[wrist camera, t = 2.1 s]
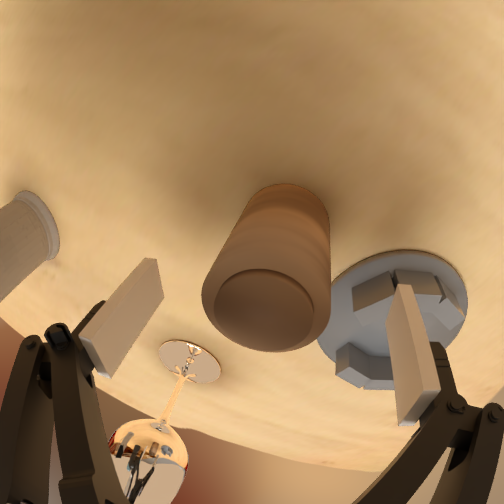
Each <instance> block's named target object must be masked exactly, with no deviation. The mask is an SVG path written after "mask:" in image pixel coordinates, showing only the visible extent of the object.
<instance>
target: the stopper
mask: <svg viewBox="0 0 504 504" xmlns="http://www.w3.org/2000/svg"><path fill="white" fill-rule="evenodd" d="M201 296H202V304H203V308H204V310H205V313H206V315H207V317H208V318H209V320H210V321H211V323H212V324H213V325H214V326H215V328H216V329H217V330H218V331H219V332H221V333H222V334H223V335H224V336H226V337H227V338H228V339H230V340H232V341H233V342H235V343H237V344H239V345H241V346H244V347H247V348H249V349H253V350H257V351H263V352H287V351H292V350H296V349H299V348H302V347H304V346H306V345H308V344H310V343H311V342H313V341H314V340H315V339H317V338H318V337H319V336H320V335H321V334H322V333H323V331H324V330H325V328H326V327H327V324H328V322H329V319H330V315H331V258H330V230H329V218H328V214H327V212H326V209H325V207H324V206H323V204H322V203H321V201H320V200H319V199H318V198H317V197H316V196H315V195H314V194H313V193H311V192H310V191H308V190H306V189H304V188H302V187H299V186H296V185H291V184H277V185H272V186H269V187H266V188H264V189H262V190H261V191H259V192H258V193H256V194H255V195H254V196H253V197H252V198H251V200H250V201H249V202H248V204H247V206H246V208H245V209H244V211H243V213H242V215H241V216H240V218H239V220H238V222H237V223H236V225H235V227H234V229H233V230H232V232H231V234H230V236H229V237H228V239H227V241H226V243H225V244H224V246H223V248H222V250H221V251H220V253H219V255H218V257H217V259H216V260H215V262H214V264H213V266H212V268H211V269H210V271H209V273H208V275H207V277H206V279H205V281H204V283H203V287H202V294H201Z"/></svg>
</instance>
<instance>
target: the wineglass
mask: <svg viewBox="0 0 504 504" xmlns="http://www.w3.org/2000/svg"><path fill="white" fill-rule="evenodd" d="M159 357H160V359H161V361H162V363H163V364H164V365H165V367H166V368H167V369H169V370H170V371H171V372H172V373H174V374H175V375H177V376H179V379H178V381H177V384H176V386H175V388H174V390H173V392H172V395H171V397H170V399H169V401H168V403H167V405H166V407H165V409H164V411H163V412H162V414H161V415H160V417H159V418H158V419H157V420H155V419H140V420H134V421H130V422H128V423H126V424H123V425H122V426H121V427H119V428H118V429H117V430H116V431H115V432H114V433H113V435H112V436H111V438H110V439H109V442H108V445H109V449H110V453H111V456H112V459H113V463H114V466H115V469H116V472H117V476H118V479H119V482H120V485H121V487H122V490H123V493H124V494H125V496H126V497H127V499H128V500H129V502H130V504H170V503H171V502H172V500H173V499H174V497H175V496H176V494H177V492H178V490H179V488H180V487H181V485H182V483H183V480H184V478H185V476H186V473H187V468H188V453H187V450H186V447H185V444H184V443H183V441H182V440H181V438H180V437H179V435H178V434H177V433H176V432H175V431H174V430H173V429H172V428H171V427H170V426H169V420H170V416H171V412H172V409H173V407H174V404H175V402H176V400H177V397H178V395H179V393H180V391H181V388H182V386H183V384H184V381H185V380H188V381H191V382H195V383H211V382H213V381H215V380H217V379H218V378H219V376H220V374H221V368H220V365H219V363H218V362H217V360H216V359H215V358H214V357H213V356H212V355H211V354H210V353H208V352H207V351H206V350H204V349H202V348H201V347H199V346H196V345H194V344H191V343H188V342H184V341H176V340H175V341H168V342H165V343H164V344H162V345H161V346H160V349H159Z"/></svg>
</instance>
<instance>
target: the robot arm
mask: <svg viewBox="0 0 504 504" xmlns="http://www.w3.org/2000/svg"><path fill="white" fill-rule="evenodd" d="M163 299H164V293H163V289H162V284H161V279H160V274H159V270H158V265H157V259H152V258H144V259H143V260H142V262H141V263H140V264H139V265H138V266H137V267H136V268H135V269H134V270H133V271H132V273H131V274H130V275H129V276H128V277H127V278H126V279H125V280H124V282H123V283H122V284H121V285H120V286H119V287H118V288H117V290H116V291H115V292H114V293H113V294H112V295H111V296H110V298H109V299H108V300H107V301H104V300H102V301H101V302H99V303H98V304H96V305H95V306H94V307H93V308H92V309H91V310H90V312H89V313H88V314H87V315H86V316H85V318H84V319H83V320H82V321H81V322H80V323H79V325H78V326H77V327H76V328H75V329H74V331H73V332H72V333H70V331H69V329H68V327H67V325H65V324H64V323H55V324H53V325H51V326H50V327H48V328H47V330H46V331H45V334H44V336H45V338H46V340H47V342H48V343H43V342H42V340H41V339H40V337H39V336H38V335H30V336H28V337H26V338H25V339H24V340H23V341H22V343H21V345H20V348H19V351H18V353H17V356H16V359H15V362H14V365H13V368H12V372H11V375H10V378H9V381H8V384H7V388H6V391H5V395H4V399H3V403H2V407H1V411H0V504H48V496H49V469H50V454H51V443H52V433H53V425H54V421H55V430H56V438H57V445H58V451H59V457H60V463H61V468H62V473H63V479H62V480H60V481H59V484H58V485H59V492H60V496H61V500H62V504H130V502H129V500H128V499H127V497H126V496H125V494H124V493H123V490H122V487H121V485H120V482H119V479H118V476H117V472H116V469H115V466H114V463H113V459H112V456H111V453H110V449H109V445H108V442H107V438H106V434H105V430H104V426H103V422H102V417H101V413H100V408H99V403H98V399H97V393H96V388H95V382H94V376H93V374H92V370H93V369H94V367H95V369H96V370H97V372H98V374H99V375H102V376H104V377H107V378H110V379H111V378H112V376H113V375H114V373H115V372H116V370H117V369H118V367H119V365H120V364H121V362H122V361H123V359H124V358H125V356H126V354H127V353H128V351H129V350H130V348H131V347H132V345H133V344H134V342H135V341H136V339H137V338H138V336H139V335H140V333H141V331H142V330H143V328H144V327H145V325H146V324H147V322H148V321H149V319H150V318H151V316H152V315H153V313H154V312H155V311H156V309H157V308H158V306H159V305H160V303H161V302H162V300H163ZM385 326H386V332H387V337H388V344H389V350H390V357H391V364H392V371H393V379H394V388H395V397H396V407H397V419H398V426H414V425H415V423H416V422H417V421H418V420H419V421H420V427H419V429H418V430H417V431H416V432H415V433H414V434H413V435H412V438H411V439H410V440H409V442H408V443H407V444H406V445H405V447H404V448H403V449H402V450H401V451H400V453H399V454H398V455H397V456H396V457H395V459H394V460H393V461H392V462H391V463H390V464H389V466H388V467H387V468H386V469H385V470H384V471H383V472H382V473H381V475H380V476H379V477H378V478H377V479H376V480H375V481H374V482H373V483H372V484H371V485H370V486H369V487H368V488H367V489H366V490H365V491H364V492H363V493H362V494H361V495H360V496H359V497H358V498H357V499H356V500H355V501H354V502H353V503H352V504H406V503H407V502H408V501H409V499H410V498H411V497H412V496H413V495H414V493H415V492H416V490H417V489H418V488H419V487H420V486H421V484H422V483H423V482H424V480H425V479H426V478H427V476H428V475H429V473H430V472H431V471H432V469H433V468H434V466H435V465H436V463H437V462H438V460H439V459H440V457H441V456H442V454H443V453H444V451H445V450H446V448H447V447H450V448H451V451H450V454H449V457H448V460H447V462H446V465H445V468H444V471H443V473H442V476H441V479H440V481H439V483H438V486H437V488H436V491H435V493H434V495H433V498H432V500H431V502H430V504H486V502H487V499H488V496H489V493H490V490H491V486H492V483H493V479H494V475H495V472H496V468H497V463H498V459H499V454H500V450H501V445H502V439H503V433H504V409H503V408H502V407H501V406H500V405H499V404H497V403H489V404H487V405H486V406H485V407H484V408H483V409H482V408H478V407H474V406H470V405H468V404H467V402H466V400H465V399H464V398H463V397H462V396H461V395H459V394H458V393H457V390H456V386H455V382H454V378H453V374H452V371H451V368H450V364H449V360H448V357H447V353H446V350H445V349H444V347H443V346H442V345H441V343H440V342H429V340H428V336H427V333H426V329H425V326H424V323H423V320H422V316H421V313H420V310H419V307H418V304H417V301H416V298H415V295H414V292H413V289H412V287H411V285H405V284H398V285H397V288H396V291H395V295H394V298H393V301H392V304H391V307H390V310H389V313H388V316H387V319H386V322H385ZM37 375H38V376H37Z"/></svg>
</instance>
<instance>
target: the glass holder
mask: <svg viewBox="0 0 504 504" xmlns="http://www.w3.org/2000/svg"><path fill="white" fill-rule="evenodd" d="M59 244H60V242H59V234H58V229H57V226H56V223H55V221H54V218H53V216H52V214H51V212H50V211H49V209H48V208H47V206H46V205H45V204H44V202H43V201H42V200H41V199H40V198H39V197H38V196H36V195H35V194H34V193H32V192H29V191H22V192H19V193H18V194H17V195H16V196H15V198H14V200H13V201H12V202H10V203H9V204H7V205H6V206H4V207H2V208H1V209H0V302H1V301H2V300H3V299H4V298H5V297H6V296H7V295H8V294H9V293H10V292H11V291H12V290H13V289H14V288H15V287H16V286H17V285H19V284H20V283H21V282H22V281H23V280H24V279H25V278H26V277H27V276H28V275H29V274H30V273H31V272H33V271H34V270H35V269H36V268H37V267H38V266H39V265H40V264H41V263H43V262H44V261H46V260H51V259H53V258H54V257H55V256H56V255H57V253H58V251H59Z"/></svg>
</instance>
